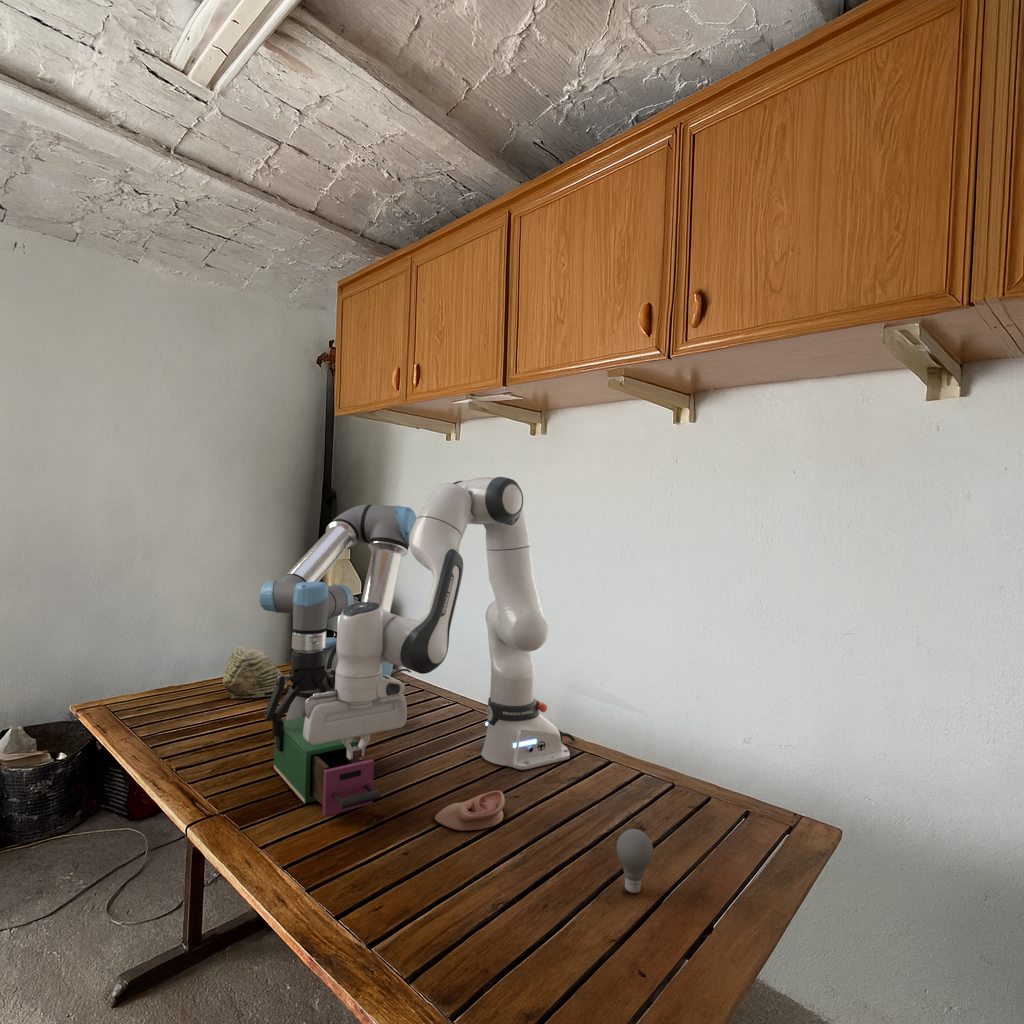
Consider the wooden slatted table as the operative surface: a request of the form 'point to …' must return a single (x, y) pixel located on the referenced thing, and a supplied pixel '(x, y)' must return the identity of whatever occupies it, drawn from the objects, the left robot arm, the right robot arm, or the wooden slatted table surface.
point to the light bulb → (634, 857)
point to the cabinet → (300, 757)
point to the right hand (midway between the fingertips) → (355, 757)
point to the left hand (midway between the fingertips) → (305, 744)
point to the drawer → (341, 781)
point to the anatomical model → (474, 812)
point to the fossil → (250, 674)
